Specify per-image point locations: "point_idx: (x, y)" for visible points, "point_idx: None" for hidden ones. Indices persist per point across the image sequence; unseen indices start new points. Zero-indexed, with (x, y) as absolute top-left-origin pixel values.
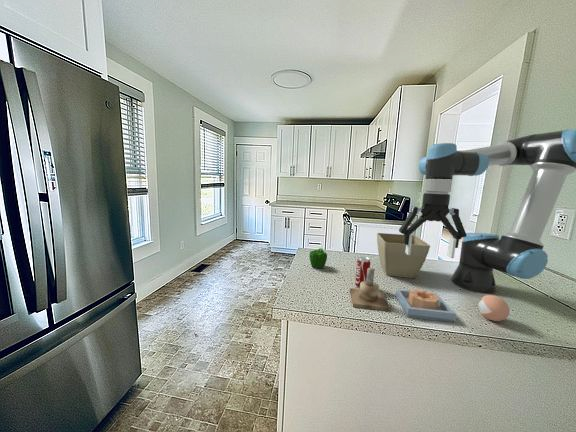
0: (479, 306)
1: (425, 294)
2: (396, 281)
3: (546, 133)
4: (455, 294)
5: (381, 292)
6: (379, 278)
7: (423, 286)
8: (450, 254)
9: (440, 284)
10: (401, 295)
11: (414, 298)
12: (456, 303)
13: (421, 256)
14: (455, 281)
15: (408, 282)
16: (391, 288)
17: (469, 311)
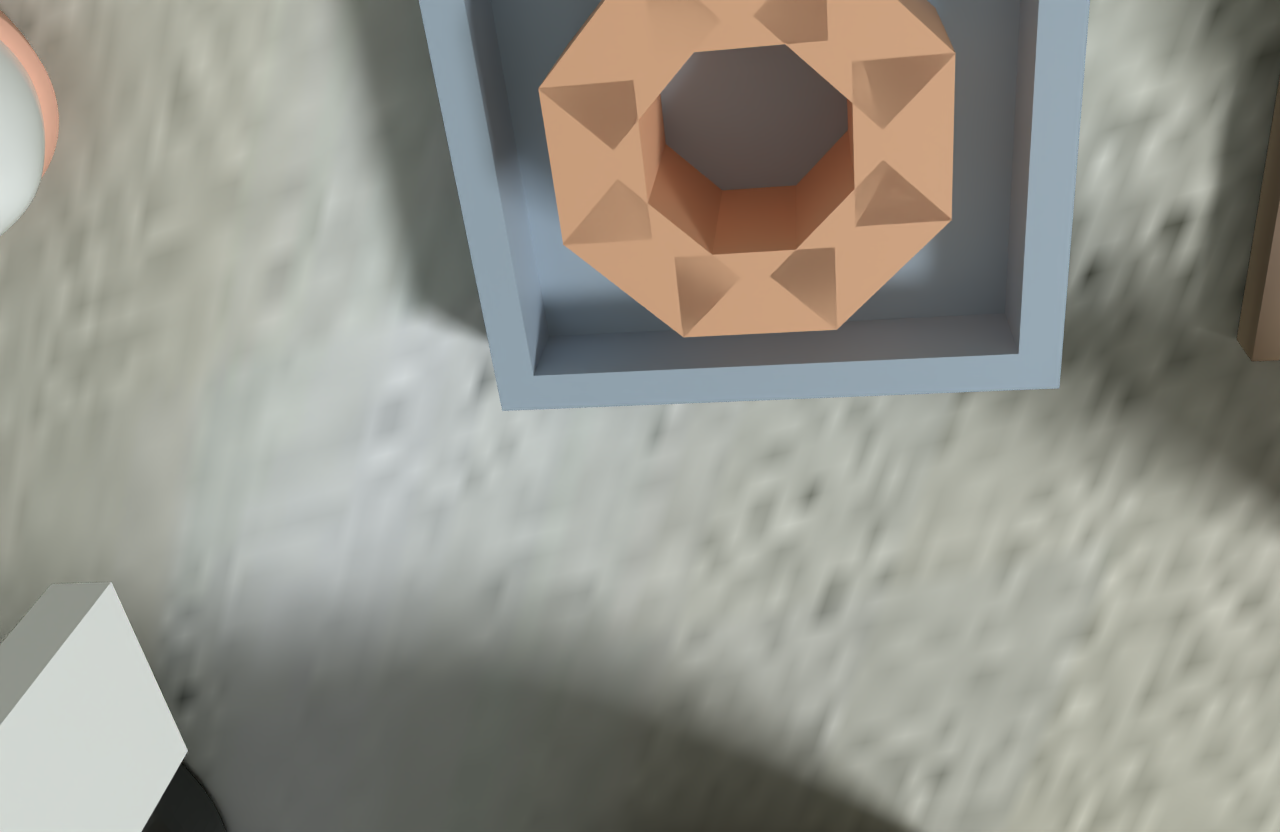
0: (30, 139)
1: (699, 233)
2: (877, 736)
3: None
4: (253, 572)
5: (1269, 332)
6: (1085, 771)
7: (571, 680)
8: (92, 695)
9: (366, 762)
10: (1055, 191)
11: (931, 25)
12: (285, 358)
13: None
14: (198, 821)
15: (728, 740)
16: (1012, 546)
17: (177, 196)
